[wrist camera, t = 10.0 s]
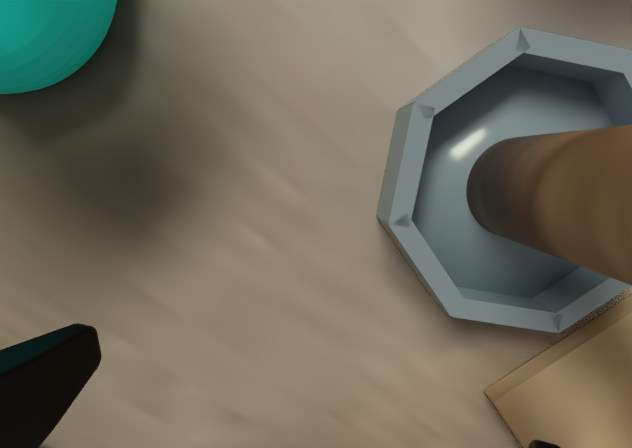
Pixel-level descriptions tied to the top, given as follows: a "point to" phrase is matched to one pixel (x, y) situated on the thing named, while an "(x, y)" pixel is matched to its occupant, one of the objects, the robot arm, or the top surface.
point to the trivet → (575, 387)
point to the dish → (462, 152)
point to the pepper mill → (561, 196)
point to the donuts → (48, 40)
